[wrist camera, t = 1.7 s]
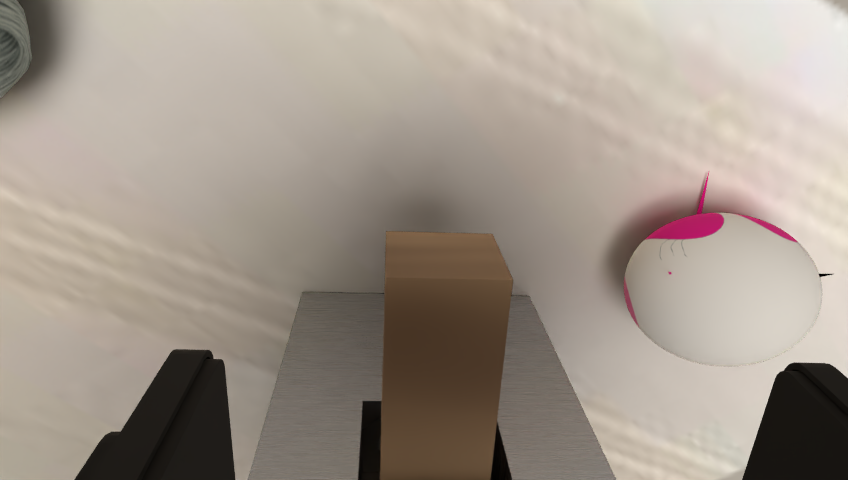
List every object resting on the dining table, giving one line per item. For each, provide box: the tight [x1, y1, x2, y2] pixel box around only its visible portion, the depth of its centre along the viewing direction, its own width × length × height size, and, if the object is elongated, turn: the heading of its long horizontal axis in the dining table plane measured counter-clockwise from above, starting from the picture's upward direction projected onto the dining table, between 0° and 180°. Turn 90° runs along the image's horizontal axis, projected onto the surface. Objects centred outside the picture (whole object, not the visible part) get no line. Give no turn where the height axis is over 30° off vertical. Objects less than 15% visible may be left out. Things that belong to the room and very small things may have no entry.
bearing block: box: [248, 292, 616, 480], centre depth 22 cm, size 8×10×14 cm
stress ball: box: [624, 173, 832, 367], centre depth 25 cm, size 8×8×7 cm
